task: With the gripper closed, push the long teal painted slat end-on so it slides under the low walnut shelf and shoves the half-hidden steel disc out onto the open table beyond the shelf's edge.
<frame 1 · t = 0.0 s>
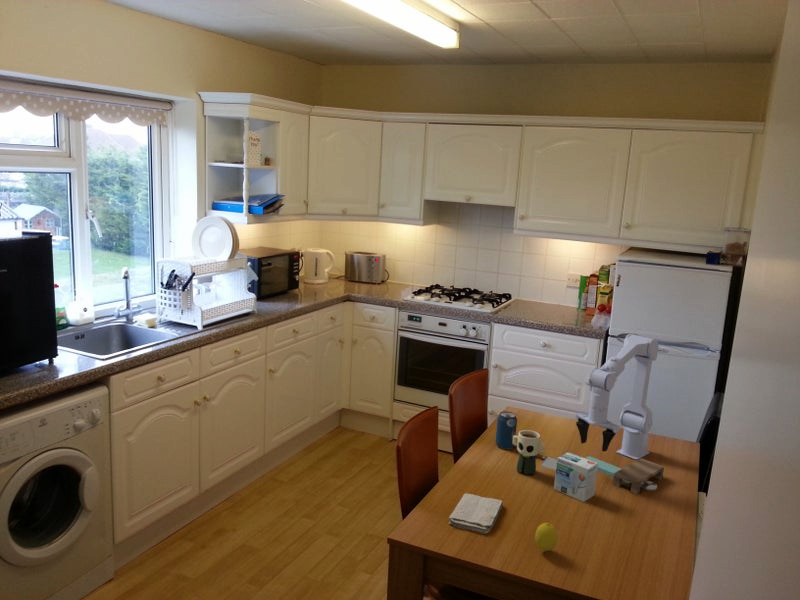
hand: (594, 446, 213), 10 cm above the table, tool pointing down, fingers open, 7 cm apart
washcloth: (475, 517, 186), on the table
steel disc: (648, 487, 209), on the table
soda can: (504, 446, 235), on the table
slat: (608, 472, 219), on the table
light bulb box: (573, 493, 203), on the table
lemon: (544, 552, 170), on the table
kitchen cleaver: (551, 465, 222), on the table
character mug: (525, 471, 215), on the table
shelf: (638, 481, 213), on the table
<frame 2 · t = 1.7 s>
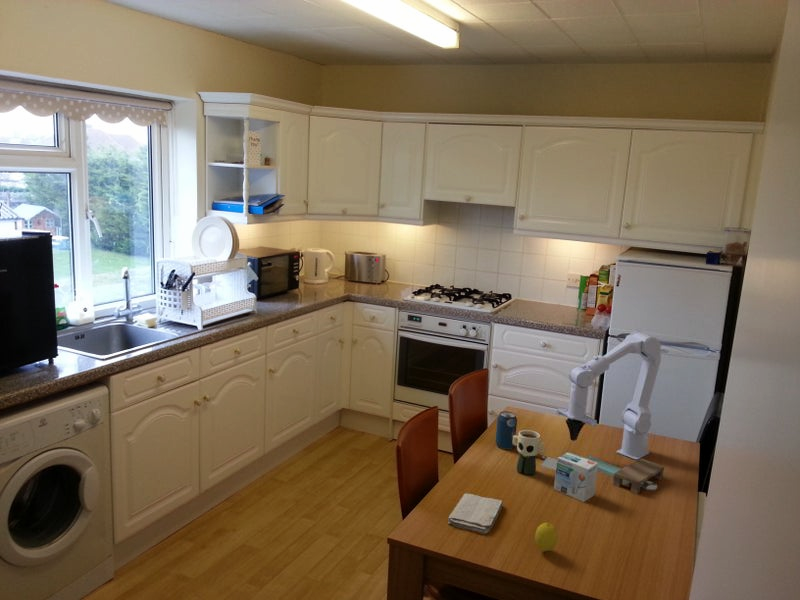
hand: (573, 439, 228), 6 cm above the table, tool pointing down, fingers closed
nothing on the table moved.
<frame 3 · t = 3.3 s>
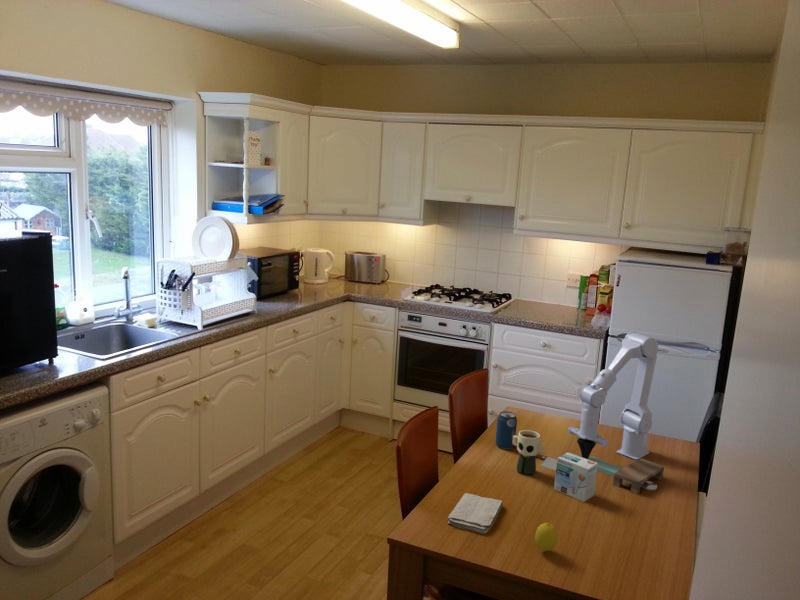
hand: (585, 459, 225), 1 cm above the table, tool pointing down, fingers closed
slat: (611, 472, 219), on the table, touching gripper
everything else where it was.
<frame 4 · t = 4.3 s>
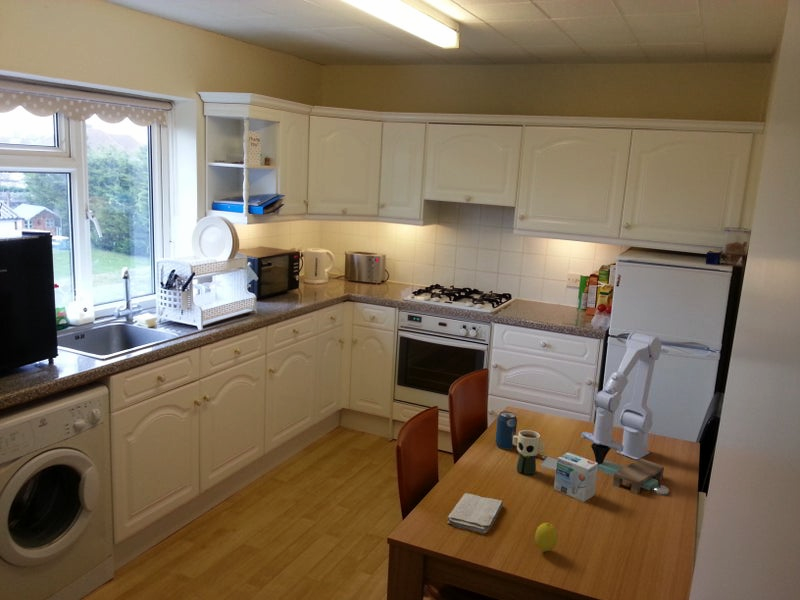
hand: (599, 464, 221), 1 cm above the table, tool pointing down, fingers closed
steel disc: (659, 491, 207), on the table
slat: (627, 477, 215), on the table, touching gripper
everything else where it was.
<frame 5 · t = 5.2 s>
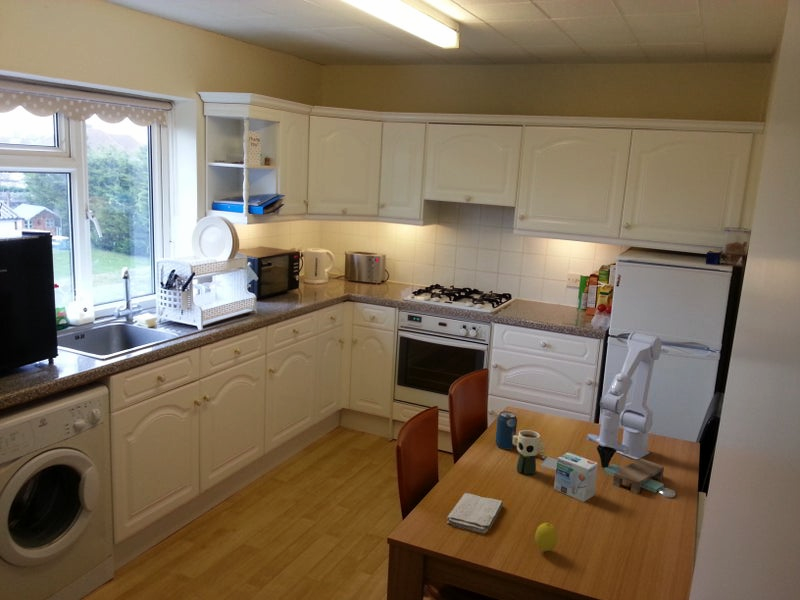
hand: (604, 466, 220), 1 cm above the table, tool pointing down, fingers closed
steel disc: (666, 494, 205), on the table
slat: (632, 481, 214), on the table
everything else where it was.
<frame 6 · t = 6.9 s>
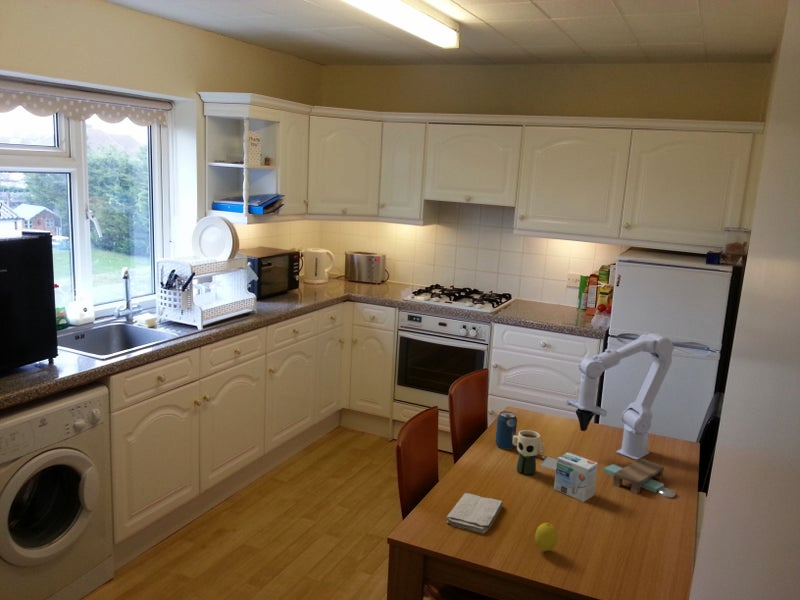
hand: (583, 430, 229), 9 cm above the table, tool pointing down, fingers closed
nothing on the table moved.
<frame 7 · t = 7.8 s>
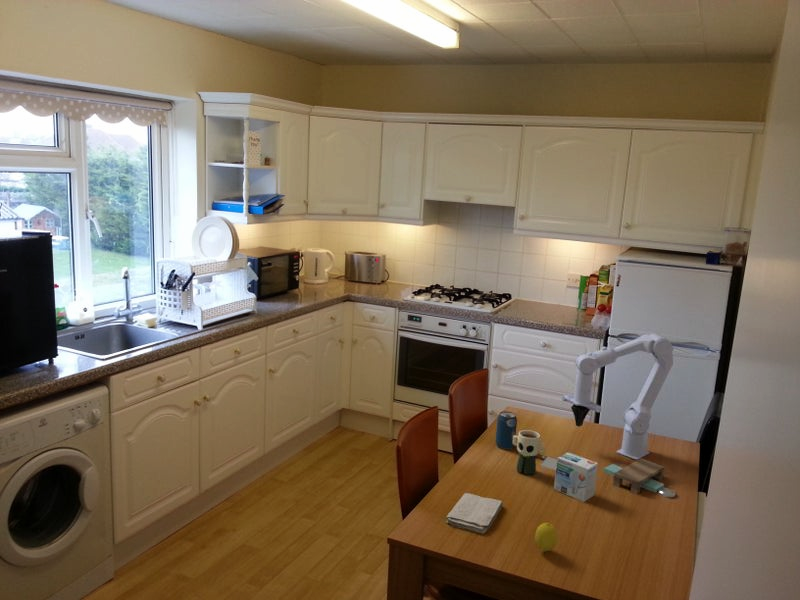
hand: (578, 425, 233), 9 cm above the table, tool pointing down, fingers closed
nothing on the table moved.
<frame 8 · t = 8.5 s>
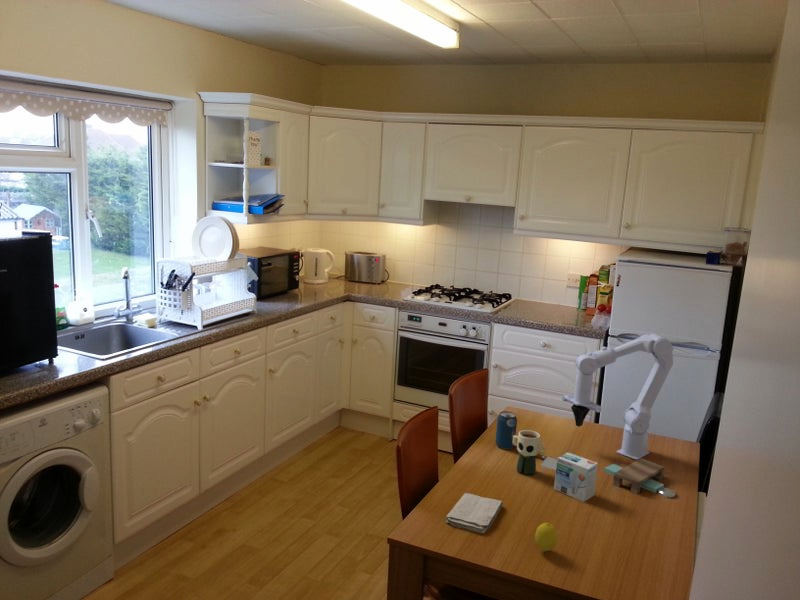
hand: (578, 425, 233), 9 cm above the table, tool pointing down, fingers closed
nothing on the table moved.
at the end: steel disc inside the target area (3.5 cm from its centre), on the table; steel disc touching table; slat moved 8.4 cm from its start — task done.
